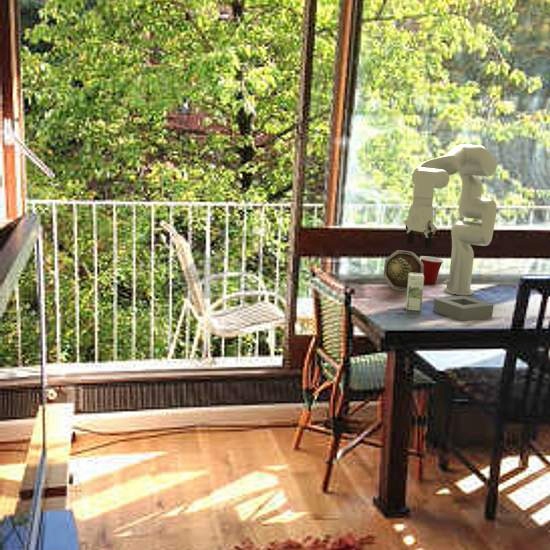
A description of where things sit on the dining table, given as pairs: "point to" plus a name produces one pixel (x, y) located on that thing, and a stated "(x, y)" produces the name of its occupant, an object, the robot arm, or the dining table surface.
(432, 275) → the plastic cup
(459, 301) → the socket stand
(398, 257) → the potted plant
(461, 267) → the robot arm
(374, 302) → the dining table surface
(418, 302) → the syrup box
